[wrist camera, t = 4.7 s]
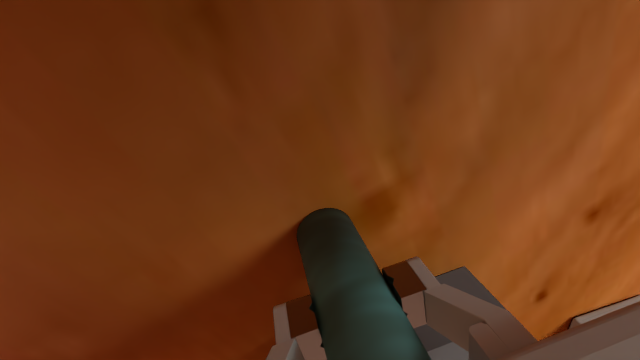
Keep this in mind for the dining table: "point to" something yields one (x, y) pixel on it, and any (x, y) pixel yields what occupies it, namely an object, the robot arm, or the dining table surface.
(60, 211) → the dining table surface
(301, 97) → the dining table surface
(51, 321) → the dining table surface
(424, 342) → the hole block
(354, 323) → the teal peg
